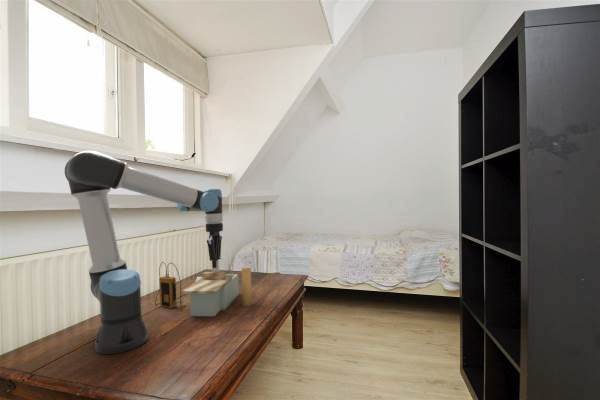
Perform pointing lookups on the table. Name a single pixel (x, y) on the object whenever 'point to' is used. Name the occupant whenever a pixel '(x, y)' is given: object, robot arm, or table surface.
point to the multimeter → (168, 290)
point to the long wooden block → (246, 287)
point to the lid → (208, 283)
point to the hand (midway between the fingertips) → (215, 274)
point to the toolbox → (214, 299)
